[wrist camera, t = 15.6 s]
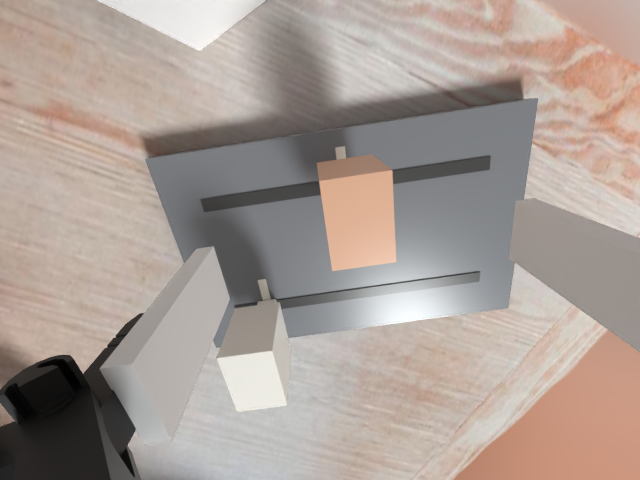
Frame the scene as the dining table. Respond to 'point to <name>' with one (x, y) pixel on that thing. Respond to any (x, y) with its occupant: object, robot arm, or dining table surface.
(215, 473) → the dining table surface
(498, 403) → the dining table surface
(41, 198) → the dining table surface
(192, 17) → the milk
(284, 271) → the console
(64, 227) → the dining table surface
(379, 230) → the fader
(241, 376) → the block
